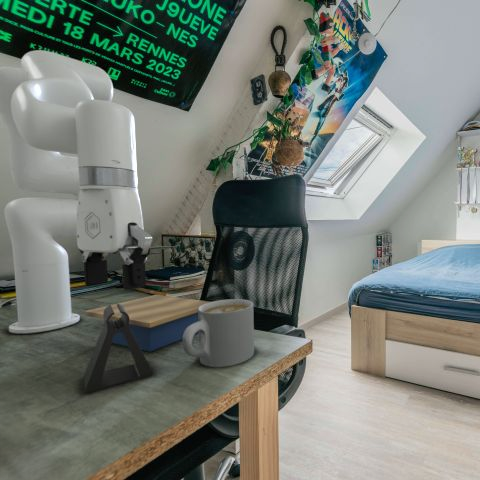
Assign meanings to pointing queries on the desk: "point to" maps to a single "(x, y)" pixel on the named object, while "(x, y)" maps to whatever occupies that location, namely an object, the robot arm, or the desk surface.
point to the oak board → (152, 310)
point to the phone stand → (95, 370)
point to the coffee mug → (222, 333)
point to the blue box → (158, 333)
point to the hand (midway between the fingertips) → (115, 286)
